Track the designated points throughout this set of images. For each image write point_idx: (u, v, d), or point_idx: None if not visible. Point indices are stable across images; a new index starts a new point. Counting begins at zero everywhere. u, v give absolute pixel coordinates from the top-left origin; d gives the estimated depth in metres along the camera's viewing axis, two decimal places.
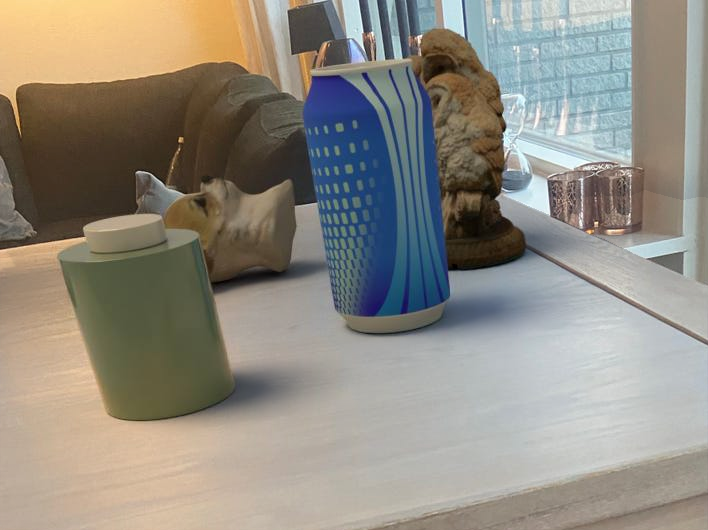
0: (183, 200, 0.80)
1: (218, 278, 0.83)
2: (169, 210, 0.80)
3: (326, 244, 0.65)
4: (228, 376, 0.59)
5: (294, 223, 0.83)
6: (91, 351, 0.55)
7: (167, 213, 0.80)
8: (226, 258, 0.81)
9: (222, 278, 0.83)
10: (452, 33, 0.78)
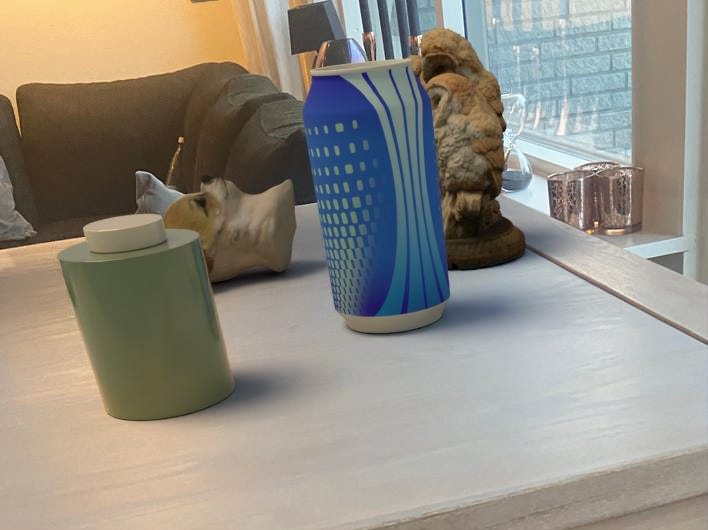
0: (183, 200, 0.80)
1: (218, 278, 0.83)
2: (169, 210, 0.80)
3: (326, 244, 0.65)
4: (228, 376, 0.59)
5: (294, 223, 0.83)
6: (91, 351, 0.55)
7: (167, 213, 0.80)
8: (226, 258, 0.81)
9: (222, 278, 0.83)
10: (452, 33, 0.78)
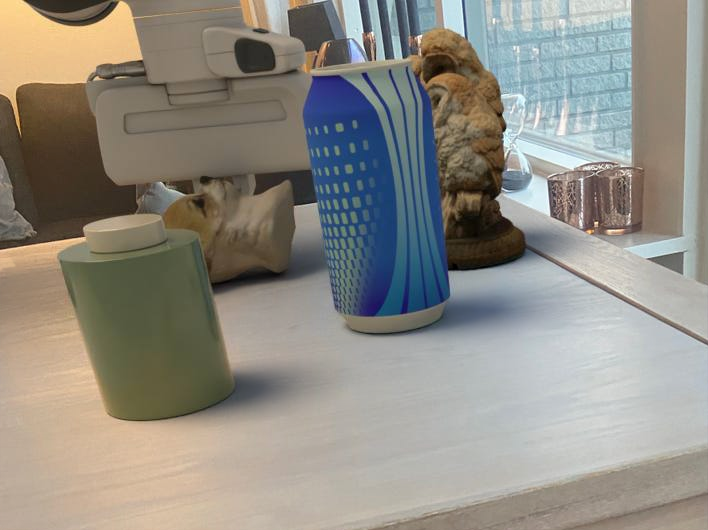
0: (181, 201, 0.79)
1: (217, 279, 0.83)
2: (167, 211, 0.80)
3: (326, 244, 0.65)
4: (228, 376, 0.59)
5: (293, 224, 0.83)
6: (91, 351, 0.55)
7: (165, 214, 0.80)
8: (224, 259, 0.81)
9: (221, 279, 0.83)
10: (452, 33, 0.78)
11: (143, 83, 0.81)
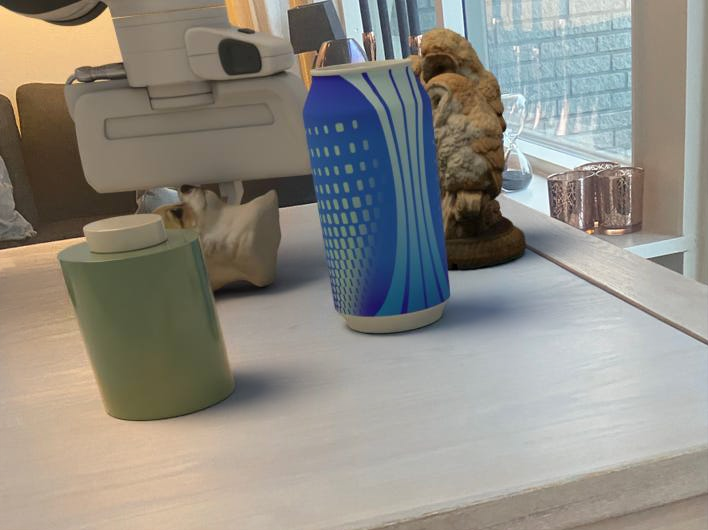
0: (160, 211, 0.76)
1: None
2: None
3: (326, 244, 0.65)
4: (228, 376, 0.59)
5: (277, 236, 0.79)
6: (91, 351, 0.55)
7: None
8: None
9: None
10: (452, 33, 0.78)
11: (124, 86, 0.78)
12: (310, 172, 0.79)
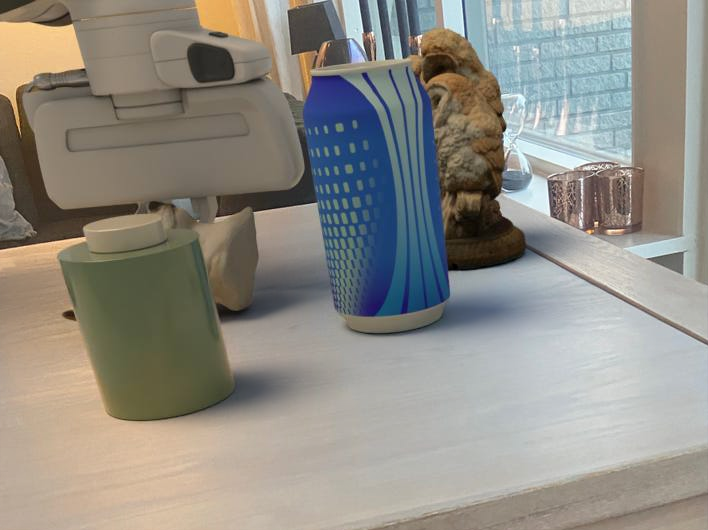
0: None
1: None
2: None
3: (326, 244, 0.65)
4: (228, 376, 0.59)
5: (254, 257, 0.73)
6: (91, 351, 0.55)
7: None
8: None
9: None
10: (452, 33, 0.78)
11: (87, 95, 0.72)
12: (289, 187, 0.73)
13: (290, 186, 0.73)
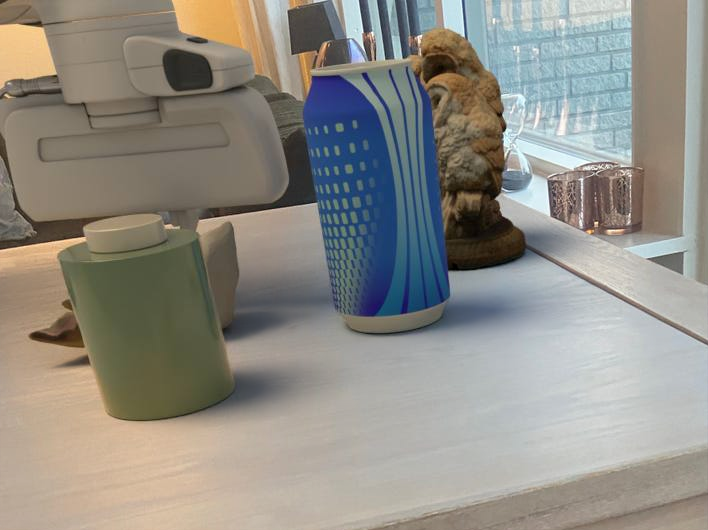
0: None
1: None
2: None
3: (326, 244, 0.65)
4: (228, 376, 0.59)
5: (234, 274, 0.69)
6: (91, 351, 0.55)
7: None
8: None
9: None
10: (452, 33, 0.78)
11: (60, 102, 0.68)
12: (272, 200, 0.70)
13: (273, 200, 0.70)
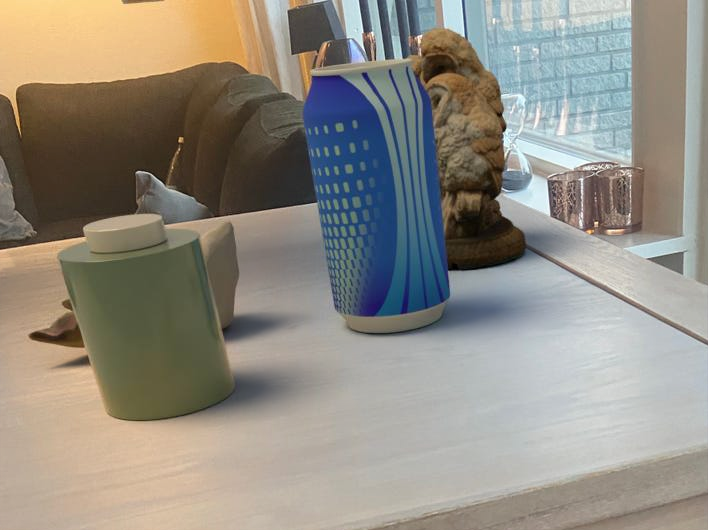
0: None
1: None
2: None
3: (326, 244, 0.65)
4: (228, 376, 0.59)
5: (234, 274, 0.69)
6: (91, 351, 0.55)
7: None
8: None
9: None
10: (452, 33, 0.78)
11: None
12: None
13: None
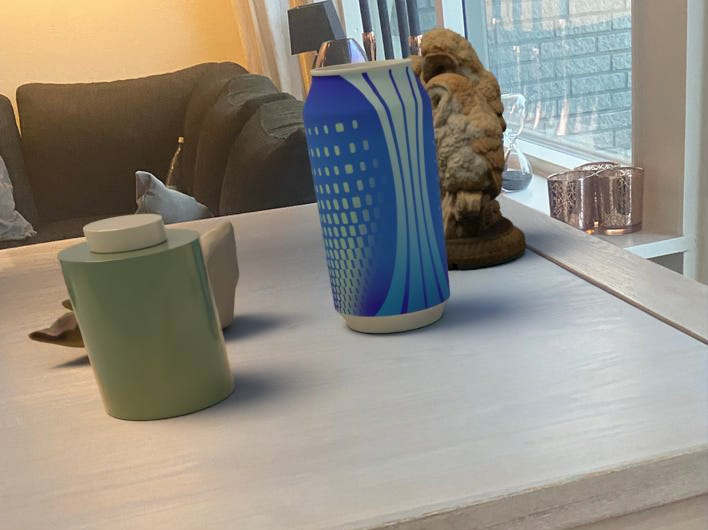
0: None
1: None
2: None
3: (326, 244, 0.65)
4: (228, 376, 0.59)
5: (234, 274, 0.69)
6: (91, 351, 0.55)
7: None
8: None
9: None
10: (452, 33, 0.78)
11: None
12: None
13: None
